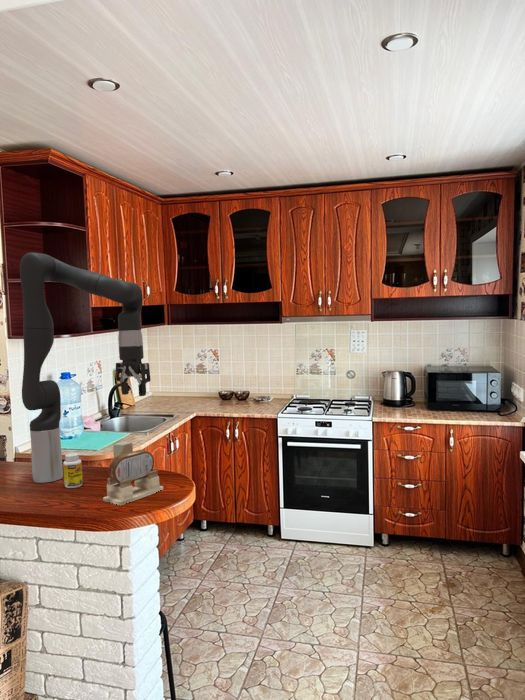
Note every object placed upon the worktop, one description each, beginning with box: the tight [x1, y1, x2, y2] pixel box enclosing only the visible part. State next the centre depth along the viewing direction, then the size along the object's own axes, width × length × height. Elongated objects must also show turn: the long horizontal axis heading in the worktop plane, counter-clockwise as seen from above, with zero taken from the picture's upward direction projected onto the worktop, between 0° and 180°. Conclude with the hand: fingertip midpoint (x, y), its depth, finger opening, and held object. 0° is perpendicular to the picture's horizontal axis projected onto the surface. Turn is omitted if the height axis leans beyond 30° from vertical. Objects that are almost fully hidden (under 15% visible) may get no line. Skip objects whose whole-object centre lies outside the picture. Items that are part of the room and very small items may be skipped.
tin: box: [108, 449, 155, 484], centre depth 157 cm, size 15×3×8 cm, turn 141°
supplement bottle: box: [62, 452, 84, 489], centre depth 169 cm, size 6×6×10 cm
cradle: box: [102, 469, 165, 507], centre depth 157 cm, size 8×16×6 cm, turn 142°
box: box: [112, 440, 134, 459], centre depth 179 cm, size 5×4×11 cm
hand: (133, 395), depth 170 cm, fingers open, 8 cm apart
